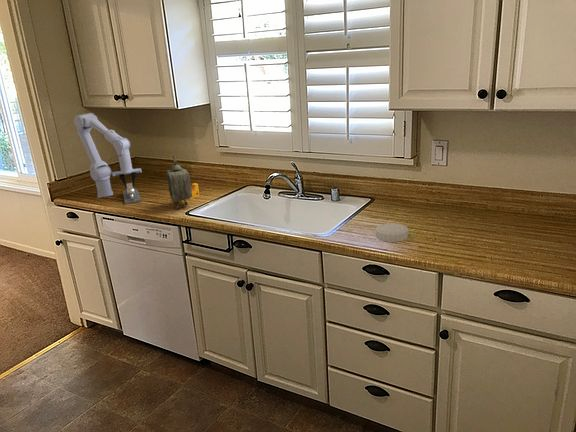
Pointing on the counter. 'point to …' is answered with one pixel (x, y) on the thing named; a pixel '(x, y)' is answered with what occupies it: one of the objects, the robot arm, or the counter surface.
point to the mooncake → (391, 232)
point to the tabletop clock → (179, 183)
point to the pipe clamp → (194, 191)
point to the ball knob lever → (130, 189)
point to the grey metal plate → (131, 197)
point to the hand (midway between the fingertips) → (129, 187)
